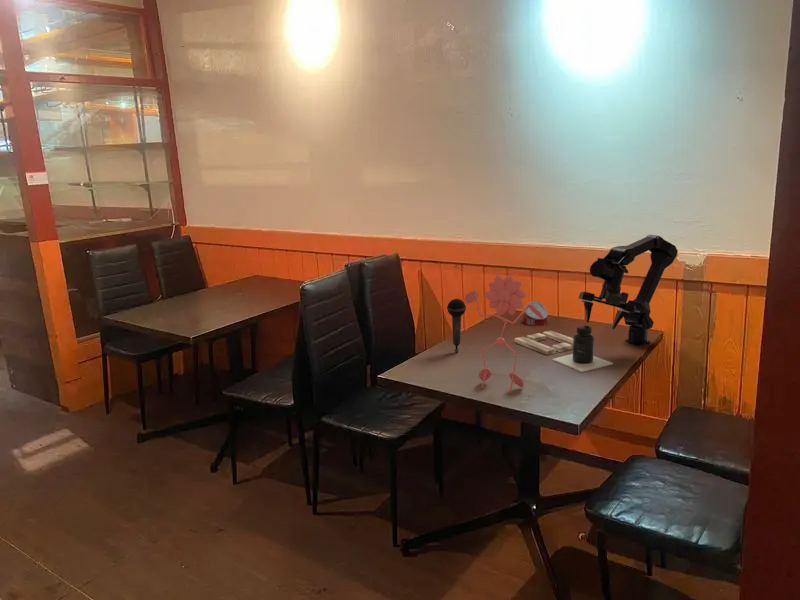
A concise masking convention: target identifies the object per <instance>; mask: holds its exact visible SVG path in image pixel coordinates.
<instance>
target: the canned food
mask: <svg viewBox="0 0 800 600" xmlns="http://www.w3.org/2000/svg"><path fill="white" fill-rule="evenodd" d="M528 303H530V304H531V305H532V306H534V307H535V308H536V309H537V310H538V311H539V312H540V313H541V314H542V315H543V318H544V320H542V319H541V318H540V317H538V316H537V315H536V314H535V313H533V312H532V311H531V309H530V308H529V307H528V308H527V309H526V311H525V312H524V313H523V314H522V316H523V317H522V319H523V320H522V321H523V322H524V323H525V324H524V323H523V322H522V323H523V324H524V325H527V326H531V325H534V327H536V326H535V325H541V326H545V325H547V324H548V310H547V308H546V307H545V306H544V305H543V304H542V302H539V301H536V300H532V301H529V302H528ZM528 303H526V305H525V307H524V309H525V308H526V307H527V305H528ZM544 324H545V325H544Z"/></svg>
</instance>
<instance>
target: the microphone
mask: <svg viewBox="0 0 800 600" xmlns="http://www.w3.org/2000/svg"><path fill="white" fill-rule="evenodd" d="M466 306H467V305H466V303H465V302H464V301H463V300H462V299H459V298H453V299H451V300H449V302H448V304H447V306H446V309H447V313H448V314H449V315H450V316H451V322H452V323H451V326H452V344H453V345H454V346H455V349H454V352H455V353H459V348H458V346H459V345H460V344H461V329H462V328H461V327H462V316H463V315H464V314H465V312H466V310H467V307H466Z"/></svg>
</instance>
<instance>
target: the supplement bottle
mask: <svg viewBox="0 0 800 600" xmlns="http://www.w3.org/2000/svg"><path fill="white" fill-rule="evenodd" d="M592 330H593V329H592V327H591V326H590V325H582V324H581V325H578V326H577V327H576V333H575V334H574V335H573V347H572V354H573V361H574V362H577V363H581V364H588V363H591V362H592V361H593V356H594V349H595V337H594V336H593V334H592Z"/></svg>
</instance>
